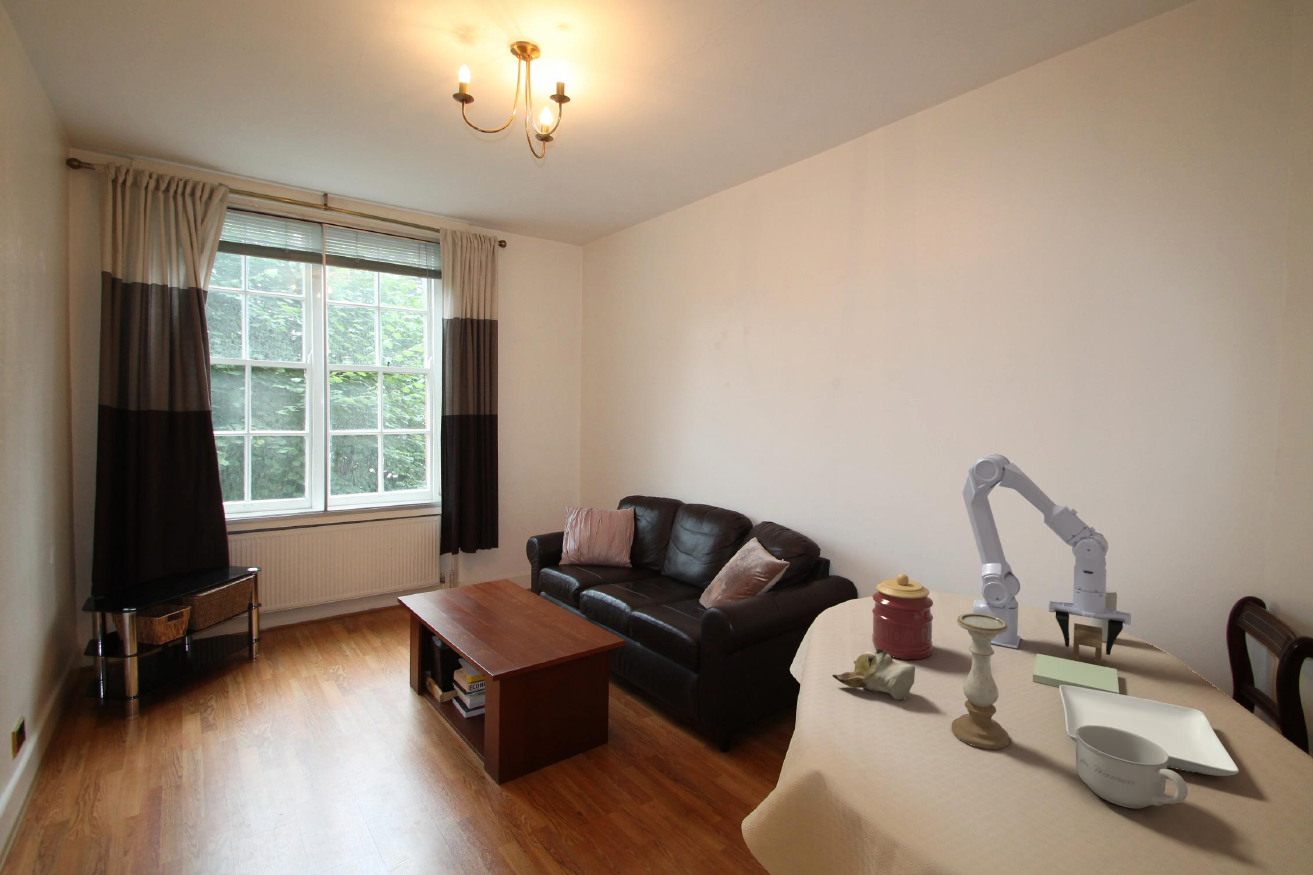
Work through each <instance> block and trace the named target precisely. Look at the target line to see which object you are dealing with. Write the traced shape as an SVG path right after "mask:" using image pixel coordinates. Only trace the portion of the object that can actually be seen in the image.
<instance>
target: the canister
mask: <svg viewBox="0 0 1313 875" xmlns="http://www.w3.org/2000/svg"><path fill="white" fill-rule="evenodd" d="M876 590H877V591H876V592H874V593H873V595H872V599H873V601H874V607H873V608H872V610H871V611H872V635H871V637H872V639H871V641H872V646H873V645H874V646H873V648H874V647H875V648H876V649H881V650H883V651H885V652H887V653H888V654H889V655H890V656H894V657H897V658H896V659H899V658H901V659H900V660H907V659H916V660H922V659H926V658H927V657H929V656H931V654H932V650H933V644H934V643H933V640H932V639H933V635H932V634H933V619H934V616H933V614H932V612H931V610H932V609H931V608H932V607H933V605H934V601H933V599H932V598H930V597H929V595H930V590H929V589H928V588H927V587H925V586H924V585H923V584H922V583H919V582H917V581H915V580H911V579H909V576H908V575H907V574H905V573H900V574H897V577H896V578H889V579H885V580H883V581H882V582H880V583H878V584H877V585H876ZM875 648H874V649H875ZM876 649H875V650H876ZM894 657H893V658H894Z"/></svg>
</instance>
